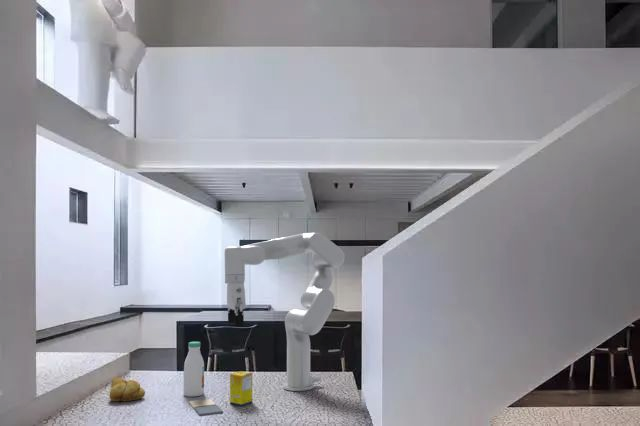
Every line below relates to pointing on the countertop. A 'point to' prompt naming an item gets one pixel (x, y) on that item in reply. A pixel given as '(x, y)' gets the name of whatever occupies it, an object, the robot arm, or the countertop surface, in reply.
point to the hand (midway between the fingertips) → (235, 324)
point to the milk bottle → (194, 371)
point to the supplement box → (240, 388)
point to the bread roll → (125, 390)
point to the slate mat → (208, 410)
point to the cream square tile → (202, 403)
